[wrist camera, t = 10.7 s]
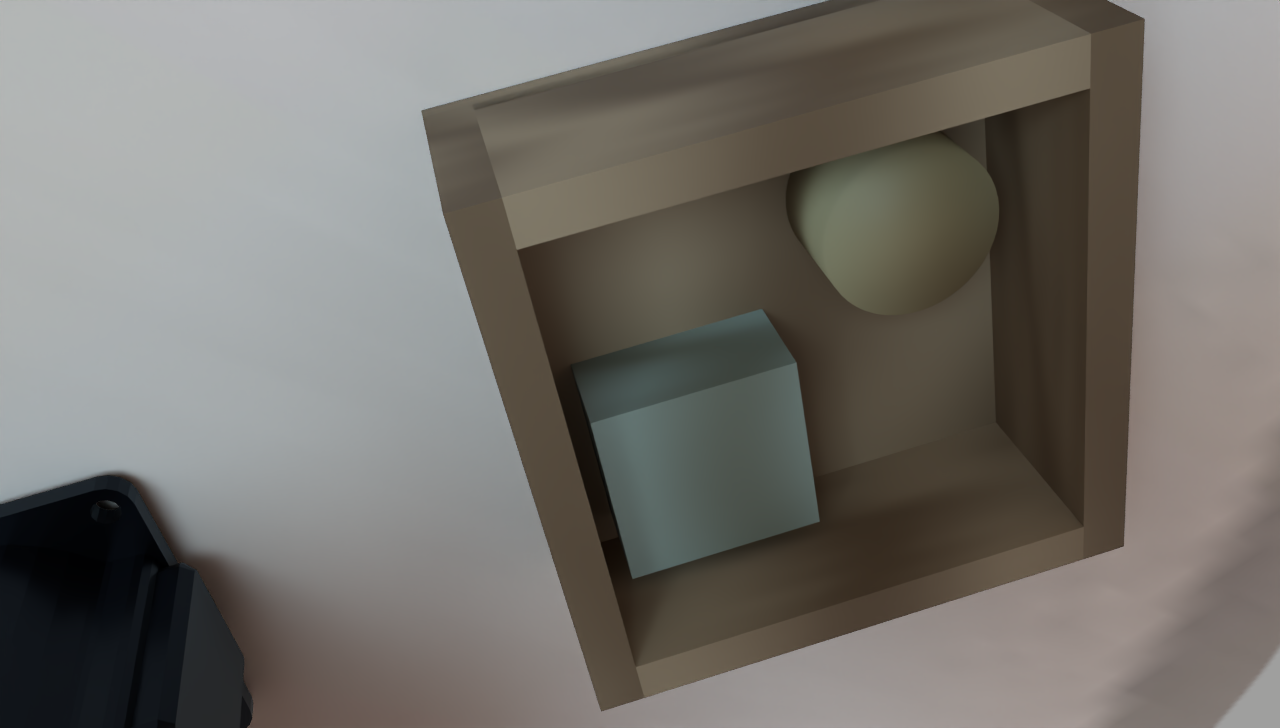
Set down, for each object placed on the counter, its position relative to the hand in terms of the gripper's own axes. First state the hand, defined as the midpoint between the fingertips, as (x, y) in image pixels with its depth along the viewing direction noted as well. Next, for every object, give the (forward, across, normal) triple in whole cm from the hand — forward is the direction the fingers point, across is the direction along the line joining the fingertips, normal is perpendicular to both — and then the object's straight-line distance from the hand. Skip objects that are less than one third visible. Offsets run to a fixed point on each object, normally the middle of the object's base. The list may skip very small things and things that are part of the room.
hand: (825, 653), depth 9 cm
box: (+13, -3, +5) cm, 14 cm away
